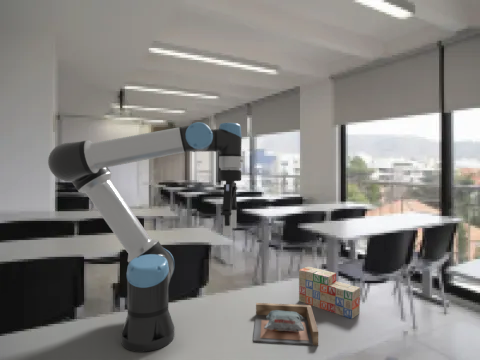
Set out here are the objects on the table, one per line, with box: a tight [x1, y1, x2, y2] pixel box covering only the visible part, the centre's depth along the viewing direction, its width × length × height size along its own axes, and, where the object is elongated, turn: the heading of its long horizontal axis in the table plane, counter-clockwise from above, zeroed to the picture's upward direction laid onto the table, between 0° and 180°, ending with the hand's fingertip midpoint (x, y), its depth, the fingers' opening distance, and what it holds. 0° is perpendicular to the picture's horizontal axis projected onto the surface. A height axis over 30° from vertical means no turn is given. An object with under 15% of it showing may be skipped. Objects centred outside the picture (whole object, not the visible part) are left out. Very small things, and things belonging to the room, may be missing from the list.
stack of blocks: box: [298, 266, 361, 320], centre depth 118 cm, size 21×6×12 cm, turn 45°
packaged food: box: [264, 310, 304, 332], centre depth 100 cm, size 9×12×5 cm
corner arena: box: [252, 302, 319, 347], centre depth 102 cm, size 18×18×4 cm
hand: (230, 231), depth 111 cm, fingers open, 13 cm apart
